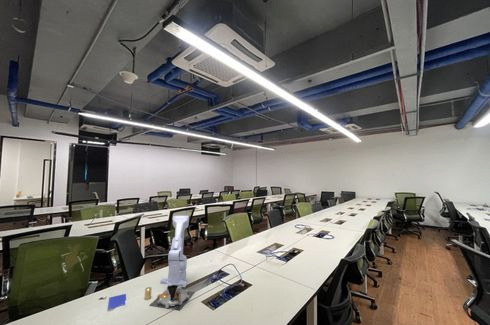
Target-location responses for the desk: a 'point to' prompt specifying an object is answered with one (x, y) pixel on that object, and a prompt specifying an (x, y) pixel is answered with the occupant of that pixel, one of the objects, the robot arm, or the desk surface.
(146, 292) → the roller
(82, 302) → the desk surface
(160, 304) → the base plate
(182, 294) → the tabbed metal disc
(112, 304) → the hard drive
